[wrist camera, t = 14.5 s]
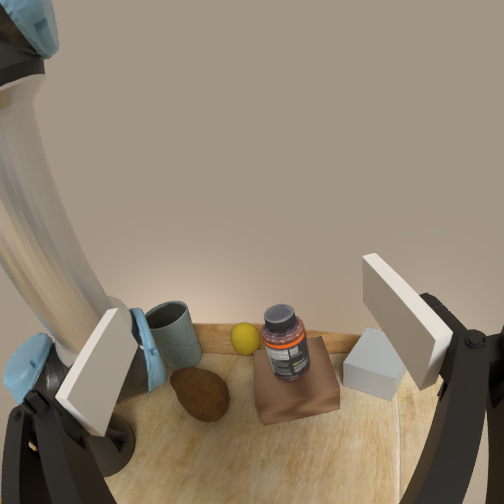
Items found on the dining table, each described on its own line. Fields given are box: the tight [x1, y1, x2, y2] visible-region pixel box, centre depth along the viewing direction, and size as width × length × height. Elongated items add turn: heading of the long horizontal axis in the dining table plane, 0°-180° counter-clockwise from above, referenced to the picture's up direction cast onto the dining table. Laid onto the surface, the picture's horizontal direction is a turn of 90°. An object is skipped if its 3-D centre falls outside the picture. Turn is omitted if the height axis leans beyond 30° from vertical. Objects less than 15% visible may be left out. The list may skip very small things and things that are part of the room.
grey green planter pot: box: [145, 301, 202, 371], centre depth 53 cm, size 10×10×12 cm
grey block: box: [343, 327, 407, 401], centre depth 38 cm, size 9×9×6 cm
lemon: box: [231, 322, 260, 355], centre depth 51 cm, size 6×6×8 cm
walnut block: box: [253, 336, 340, 425], centre depth 40 cm, size 12×12×6 cm
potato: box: [170, 367, 229, 422], centre depth 41 cm, size 8×12×9 cm
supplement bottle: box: [262, 304, 310, 381], centre depth 37 cm, size 6×6×11 cm
